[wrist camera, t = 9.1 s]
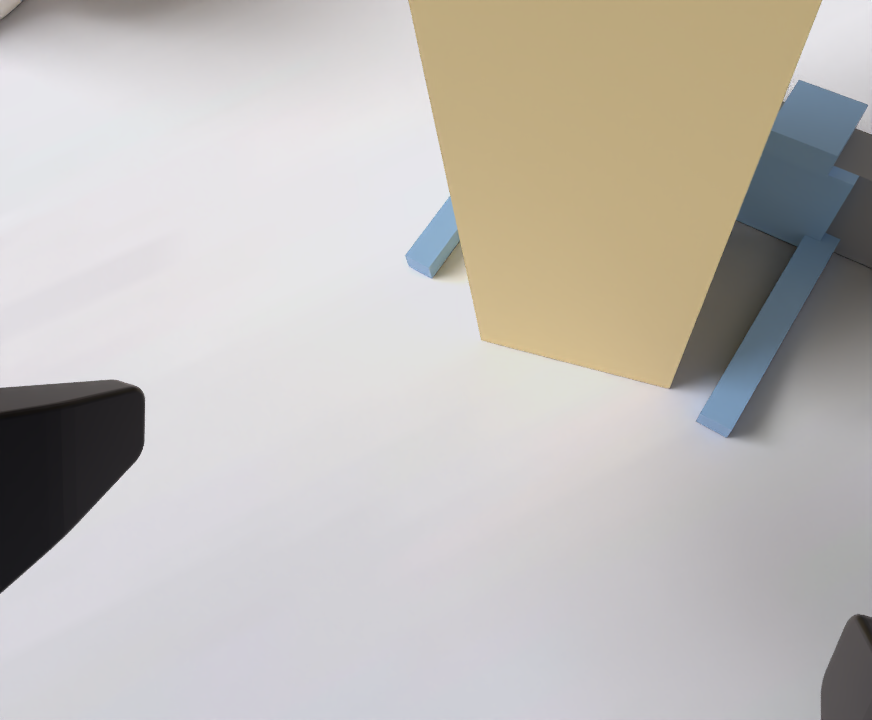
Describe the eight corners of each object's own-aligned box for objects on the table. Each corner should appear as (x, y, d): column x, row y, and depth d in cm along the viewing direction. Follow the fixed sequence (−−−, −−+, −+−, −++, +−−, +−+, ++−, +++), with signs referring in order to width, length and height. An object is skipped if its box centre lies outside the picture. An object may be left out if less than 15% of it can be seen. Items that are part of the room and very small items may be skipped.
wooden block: (669, 388, 19) (824, -4, 8) (481, 340, 20) (396, -57, 9) (710, 224, 21) (886, -287, 10) (534, 188, 22) (514, -299, 11)
